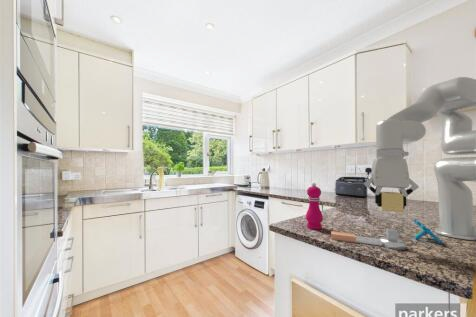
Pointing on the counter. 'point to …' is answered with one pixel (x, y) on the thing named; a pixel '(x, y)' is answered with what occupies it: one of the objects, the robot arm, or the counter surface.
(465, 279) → the counter surface
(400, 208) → the olive open-top box
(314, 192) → the pepper mill
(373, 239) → the ratchet
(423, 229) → the teal branched frame
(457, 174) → the robot arm
